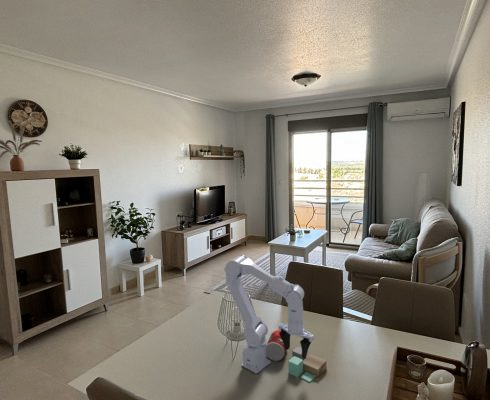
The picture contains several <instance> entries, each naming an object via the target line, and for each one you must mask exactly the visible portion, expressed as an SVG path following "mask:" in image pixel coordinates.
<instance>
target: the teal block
mask: <svg viewBox="0 0 490 400" xmlns="http://www.w3.org/2000/svg"><path fill="white" fill-rule="evenodd" d="M288 374H289V375H292V376H294V377H295V378H299V377H301V376H302V375H303V374H304V371H303V360H302V359H300V358H297V357H295V356H294V357H291V358H290V359H289V360H288Z"/></svg>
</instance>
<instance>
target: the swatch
mask: <svg viewBox="0 0 490 400" xmlns="http://www.w3.org/2000/svg"><path fill="white" fill-rule="evenodd" d="M315 378H316V377H315V375H313V374H310V373H308V372H305V371H304V372H303V373H302V374H301V375H300V379H302V380H304V381H306V382H309V383H311V382H312V381H313V380H314V379H315Z"/></svg>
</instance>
